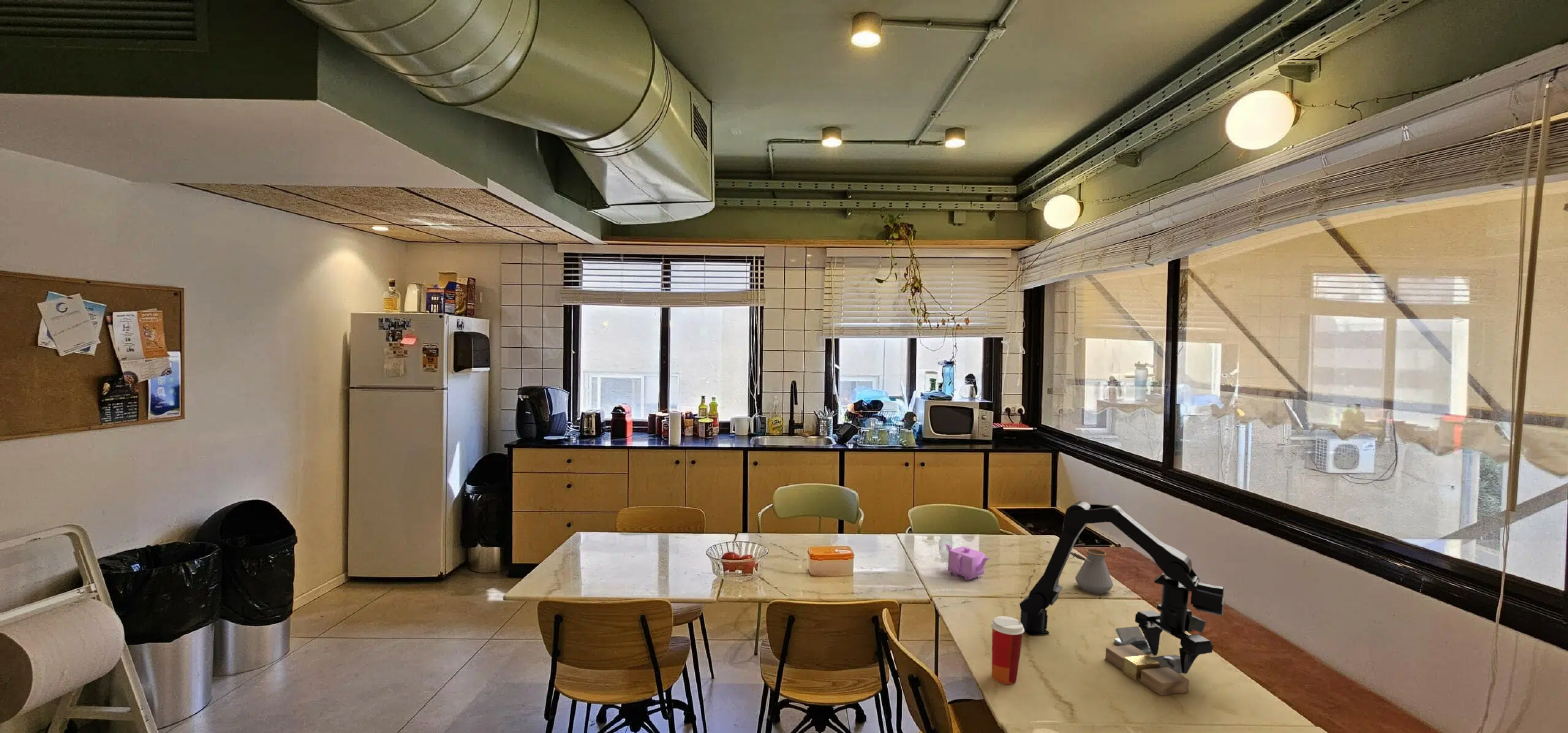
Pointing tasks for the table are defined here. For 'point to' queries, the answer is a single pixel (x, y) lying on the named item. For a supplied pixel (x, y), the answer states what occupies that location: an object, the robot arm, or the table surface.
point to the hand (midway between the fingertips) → (1169, 664)
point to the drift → (1139, 665)
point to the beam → (1150, 671)
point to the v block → (1132, 638)
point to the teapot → (966, 562)
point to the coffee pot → (1093, 572)
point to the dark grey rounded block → (1170, 662)
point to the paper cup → (1006, 648)
